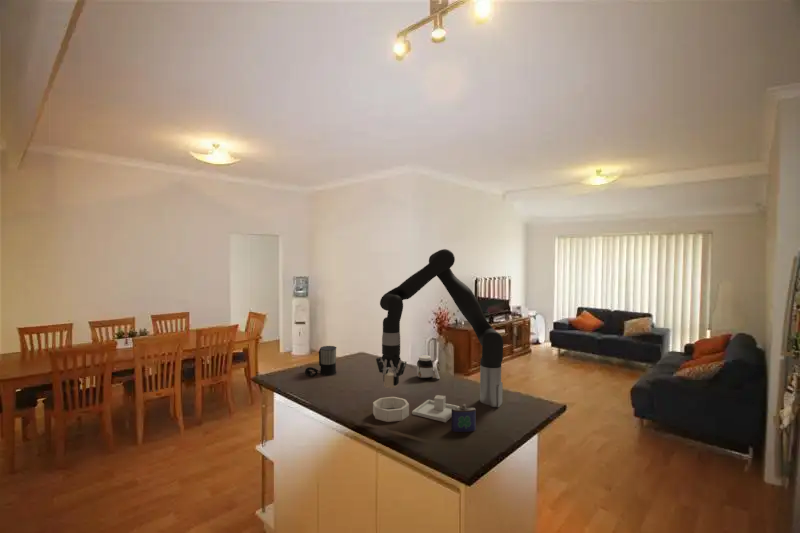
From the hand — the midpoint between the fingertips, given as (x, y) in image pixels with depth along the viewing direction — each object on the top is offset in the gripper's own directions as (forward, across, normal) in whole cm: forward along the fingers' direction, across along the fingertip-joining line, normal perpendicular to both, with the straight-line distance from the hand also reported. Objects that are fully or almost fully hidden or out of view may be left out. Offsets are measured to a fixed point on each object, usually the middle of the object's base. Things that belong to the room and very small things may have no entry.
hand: (390, 383), depth 154 cm
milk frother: (+14, +64, -27) cm, 71 cm away
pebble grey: (+12, -15, -16) cm, 25 cm away
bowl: (+13, 0, 0) cm, 13 cm away
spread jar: (+14, +9, -53) cm, 55 cm away
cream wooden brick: (+1, 0, 0) cm, 1 cm away
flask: (+14, -31, -2) cm, 34 cm away
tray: (+13, -15, -12) cm, 24 cm away
